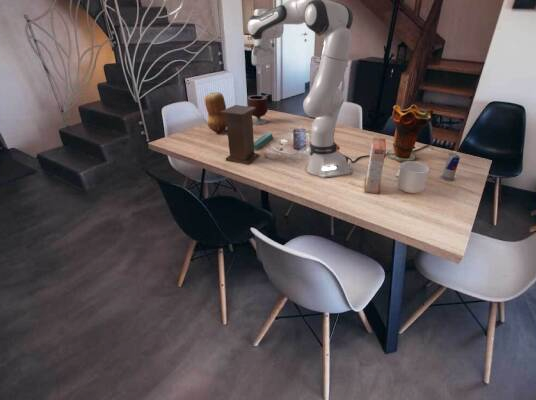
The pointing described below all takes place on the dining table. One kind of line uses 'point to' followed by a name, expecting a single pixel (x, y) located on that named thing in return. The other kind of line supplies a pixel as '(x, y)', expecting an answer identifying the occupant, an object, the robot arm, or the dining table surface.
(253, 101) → the mate gourd
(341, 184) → the dining table surface
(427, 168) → the handleless ceramic cup
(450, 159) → the energy drink
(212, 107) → the butternut squash
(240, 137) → the plinth
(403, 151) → the decorative vase
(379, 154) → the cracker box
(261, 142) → the batten
